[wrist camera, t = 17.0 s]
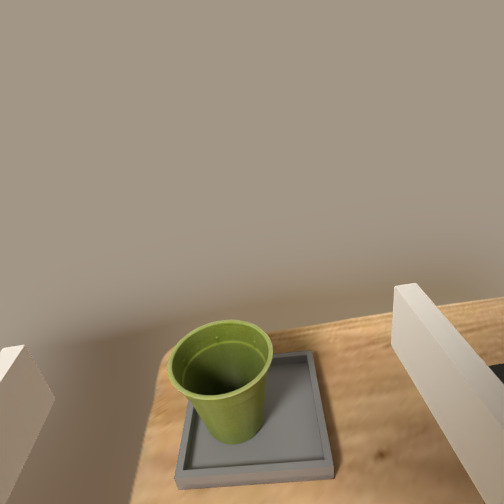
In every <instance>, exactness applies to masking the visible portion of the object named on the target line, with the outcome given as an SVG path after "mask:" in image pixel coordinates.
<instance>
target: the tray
mask: <svg viewBox="0 0 504 504" xmlns="http://www.w3.org/2000/svg"><path fill="white" fill-rule="evenodd" d="M174 479H175V482H176V484H177V487H178V489H179V490H185V489H199V488H213V487H227V486H241V485H255V484H269V483H283V482H297V481H311V480H325V479H334V465H333V460H332V455H331V449H330V444H329V439H328V434H327V428H326V423H325V418H324V412H323V407H322V402H321V397H320V391H319V386H318V381H317V376H316V370H315V365H314V360H313V355H312V350H308V351H298V352H287V353H277V354H273V358H272V362H271V365H270V367H269V369H268V373H267V377H266V385H265V405H264V420H263V424H262V426H261V427H260V428H259V430H258V431H257V433H256V434H255V435H254V436H253V437H252V438H251V439H249V440H247V441H245V442H243V443H240V444H224V443H222V442H220V441H218V440H217V439H215V438H214V437H213V436H212V435H211V434H210V432H209V431H208V429H207V427H206V426H205V424H204V422H203V421H202V419H201V417H200V416H199V414H198V413H197V411H196V409H195V408H194V406H193V404H192V403H191V401H190V400H189V401H188V406H187V412H186V417H185V423H184V428H183V433H182V439H181V444H180V449H179V455H178V460H177V465H176V471H175V476H174Z"/></svg>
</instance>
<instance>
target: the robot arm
mask: <svg viewBox="0 0 504 504" xmlns="http://www.w3.org/2000/svg"><path fill="white" fill-rule="evenodd" d="M391 346H392V347H393V349H394V351H395V352H396V354H397V356H398V358H399V359H400V361H401V363H402V364H403V366H404V368H405V369H406V371H407V373H408V374H409V376H410V378H411V379H412V381H413V383H414V384H415V386H416V388H417V389H418V391H419V393H420V395H421V396H422V398H423V400H424V401H425V403H426V405H427V406H428V408H429V410H430V411H431V413H432V415H433V416H434V418H435V420H436V421H437V423H438V425H439V426H440V428H441V430H442V431H443V433H444V435H445V437H446V438H447V440H448V442H449V443H450V445H451V447H452V448H453V450H454V452H455V453H456V455H457V457H458V458H459V460H460V462H461V463H462V465H463V467H464V468H465V470H466V472H467V474H468V475H469V477H470V479H471V480H472V482H473V484H474V485H475V487H476V489H477V490H478V492H479V494H480V495H481V497H482V499H483V500H484V502H485V504H504V364H498V365H492V366H487V364H486V363H485V362H484V361H483V360H482V359H481V358H480V356H479V355H478V354H477V353H476V352H475V351H474V349H473V348H472V347H471V346H470V345H469V344H468V342H467V341H466V340H465V339H464V338H463V337H462V336H461V334H460V333H459V332H458V331H457V330H456V329H455V327H454V326H453V325H452V324H451V323H450V322H449V321H448V319H447V318H446V317H445V316H444V315H443V314H442V312H441V311H440V310H439V309H438V308H437V307H436V305H435V304H433V302H432V301H431V300H430V299H429V297H428V296H427V295H426V294H425V293H424V292H423V291H422V289H421V288H420V287H419V286H418V285H417V284H416V283H412V284H405V285H399V286H395V288H394V303H393V320H392V336H391ZM54 400H55V397H54V396H53V394H52V392H51V390H50V389H49V387H48V385H47V383H46V382H45V379H44V378H43V376H42V374H41V372H40V371H39V369H38V367H37V366H36V363H35V362H34V360H33V358H32V356H31V354H30V353H29V351H28V349H27V347H26V346H25V345H20V346H14V347H7V348H3V349H2V351H1V352H0V504H6V502H7V500H8V498H9V496H10V493H11V491H12V489H13V487H14V484H15V483H16V481H17V479H18V476H19V474H20V472H21V470H22V468H23V466H24V464H25V462H26V459H27V457H28V455H29V453H30V451H31V449H32V447H33V445H34V443H35V440H36V438H37V436H38V434H39V432H40V429H41V427H42V426H43V423H44V421H45V419H46V417H47V415H48V413H49V410H50V409H51V406H52V404H53V402H54Z"/></svg>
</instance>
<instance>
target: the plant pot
mask: <svg viewBox="0 0 504 504" xmlns="http://www.w3.org/2000/svg"><path fill="white" fill-rule="evenodd" d="M272 358H273V346H272V342H271V340H270V338H269V336H268V335H267V334H266V332H265V331H264V330H262V329H261V328H260V327H258V326H256V325H254V324H252V323H249V322H245V321H240V320H221V321H216V322H212V323H208V324H205V325H203V326H201V327H198V328H196V329H195V330H193V331H191V332H190V333H188V334H187V335H186V336H185V337H183V338H182V339H181V340H180V341H179V342H178V343H177V345H176V346H175V347H174V349H173V351H172V352H171V354H170V357H169V360H168V366H167V371H168V376H169V379H170V381H171V383H172V384H173V386H174V387H175V388H176V389H177V390H178V391H179V392H181V393H182V394H184V395H185V396H186V397H187V399H188V400H190V401H191V403H192V404H193V406H194V408H195V409H196V411H197V413H198V414H199V416H200V417H201V419H202V421H203V422H204V424H205V426H206V427H207V429H208V431H209V432H210V434H211V435H212V436H213V437H214V438H215V439H217V440H218V441H220V442H222V443H224V444H240V443H243V442H245V441H247V440H249V439H251V438H252V437H253V436H254V435H255V434H256V433H257V431H258V430H259V428H260V427H261V426H262V424H263V420H264V405H265V385H266V377H267V373H268V369H269V367H270V365H271V362H272Z"/></svg>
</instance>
